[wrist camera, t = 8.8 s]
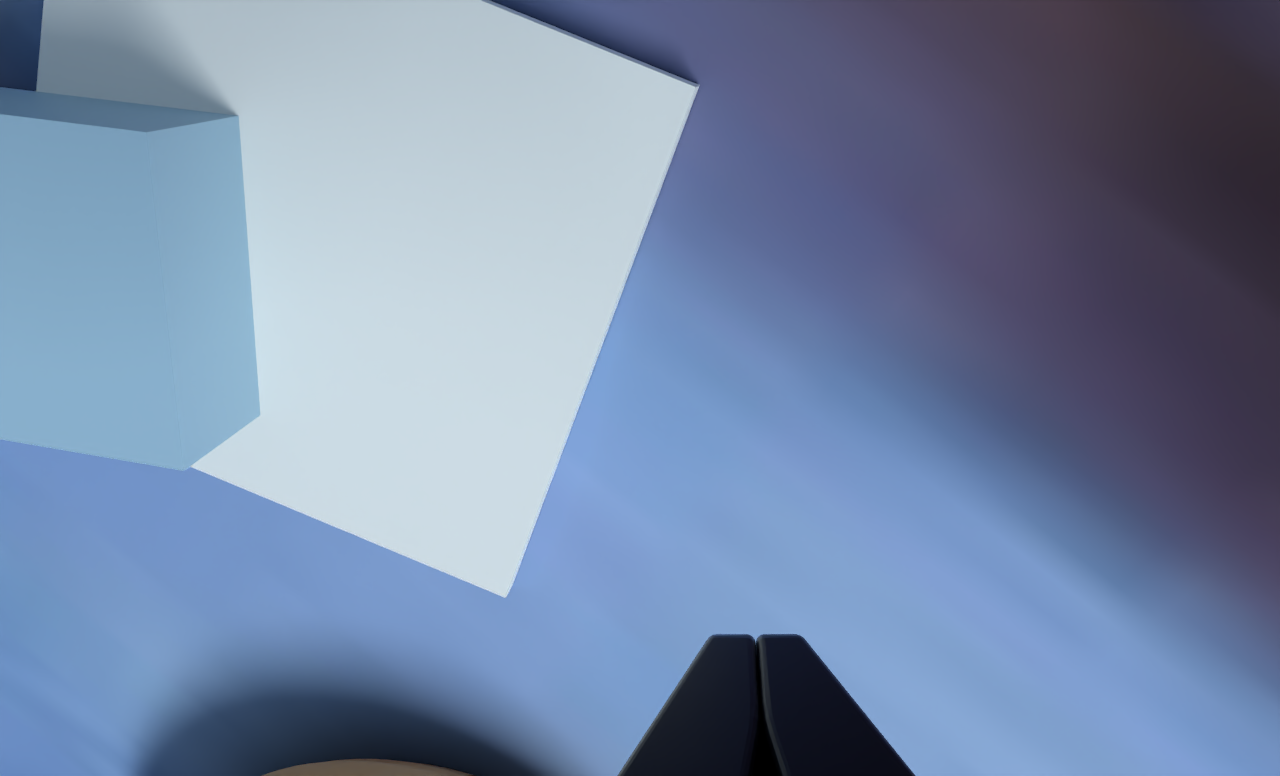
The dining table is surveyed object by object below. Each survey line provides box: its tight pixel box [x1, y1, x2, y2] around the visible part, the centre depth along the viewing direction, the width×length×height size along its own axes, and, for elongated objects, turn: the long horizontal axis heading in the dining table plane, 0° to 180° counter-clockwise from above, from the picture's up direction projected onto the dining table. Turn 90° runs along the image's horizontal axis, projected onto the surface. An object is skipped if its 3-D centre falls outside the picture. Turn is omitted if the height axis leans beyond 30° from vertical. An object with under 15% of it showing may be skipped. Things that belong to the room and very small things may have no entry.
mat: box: [36, 0, 699, 598], centre depth 21 cm, size 14×13×1 cm
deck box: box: [0, 87, 260, 471], centre depth 20 cm, size 3×7×8 cm
